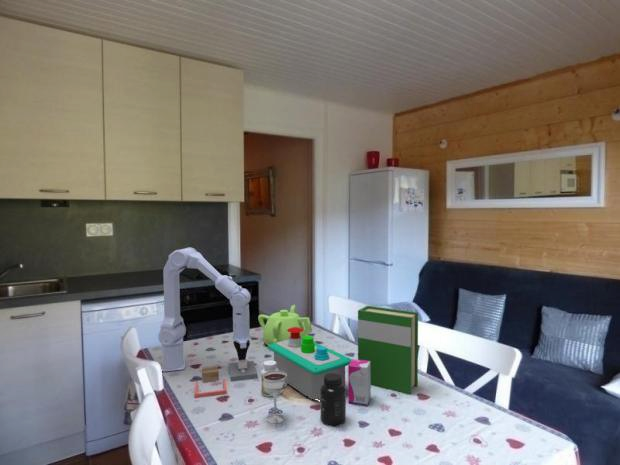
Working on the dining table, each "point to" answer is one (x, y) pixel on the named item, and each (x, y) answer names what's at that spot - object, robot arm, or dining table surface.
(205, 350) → the dining table surface
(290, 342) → the control panel
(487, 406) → the dining table surface
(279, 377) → the wineglass
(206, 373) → the block
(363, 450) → the dining table surface
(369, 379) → the supplement box
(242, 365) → the switch
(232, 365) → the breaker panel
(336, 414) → the supplement bottle
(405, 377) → the hardback book
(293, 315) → the teapot
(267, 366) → the supplement bottle
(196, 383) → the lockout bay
